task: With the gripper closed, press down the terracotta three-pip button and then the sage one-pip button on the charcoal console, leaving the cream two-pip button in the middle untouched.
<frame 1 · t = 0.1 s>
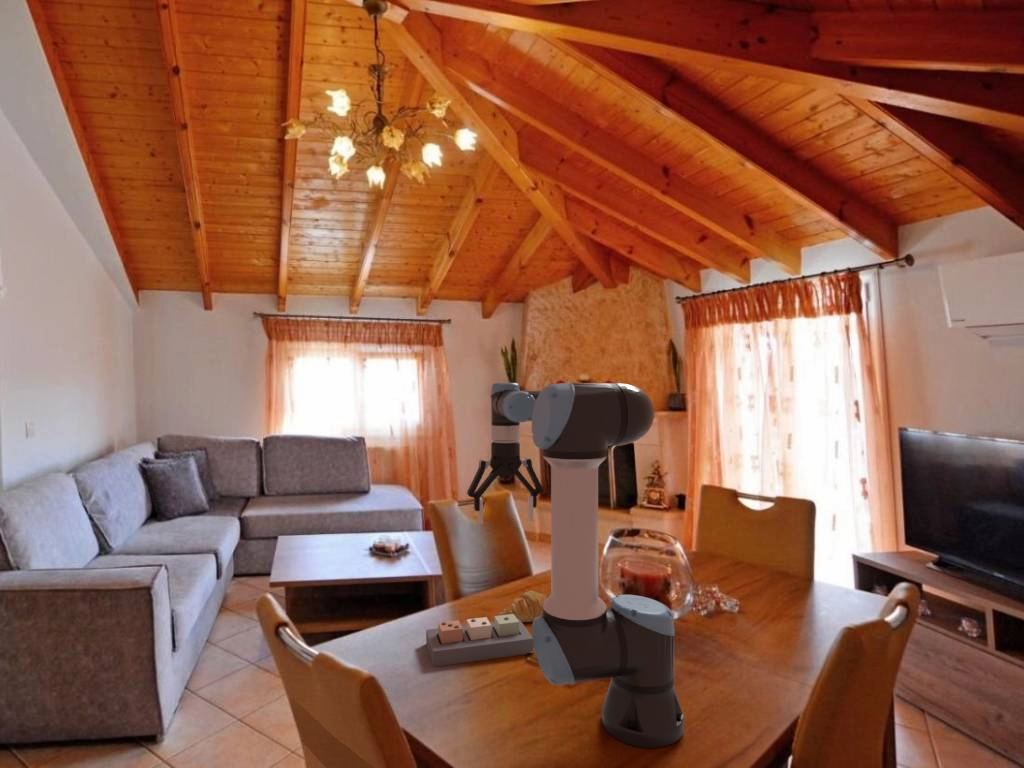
hand: (505, 521, 154), 28 cm above the table, fingers open, 13 cm apart
croissant: (529, 616, 162), on the table
button three: (450, 631, 140), point 5 cm above the table, slide at 0.0 cm
button two: (478, 627, 142), point 5 cm above the table, slide at 0.0 cm
button one: (506, 624, 144), point 5 cm above the table, slide at 0.0 cm
console: (478, 648, 142), on the table
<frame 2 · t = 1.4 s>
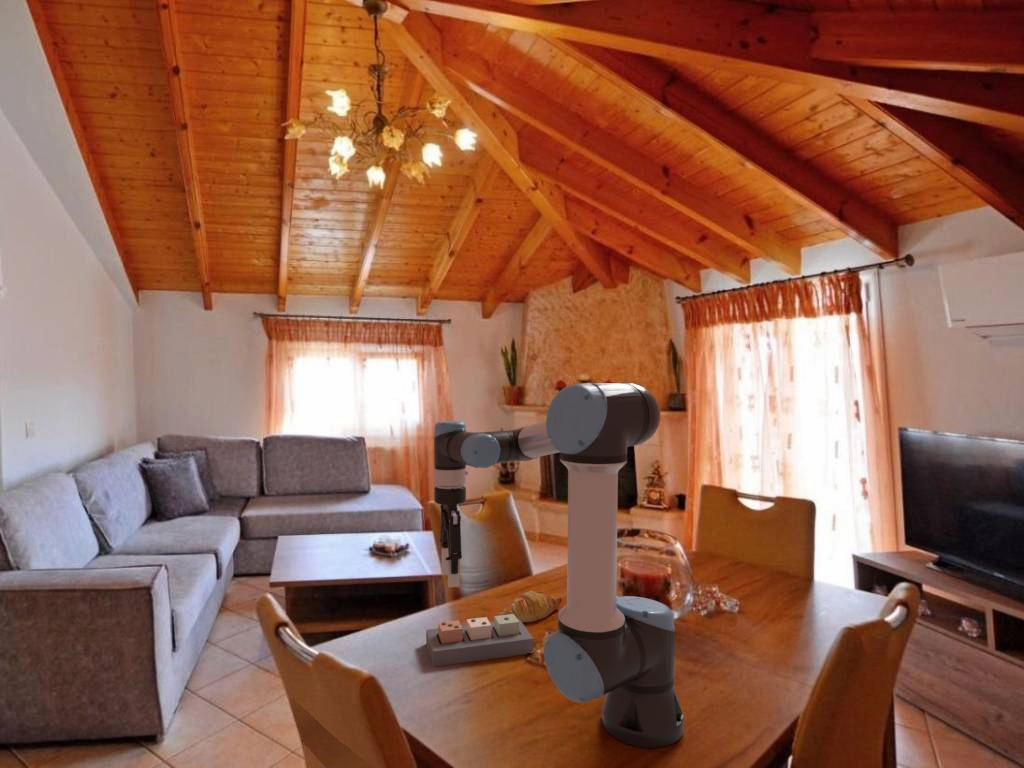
hand: (450, 580, 140), 17 cm above the table, fingers open, 8 cm apart
nothing on the table moved.
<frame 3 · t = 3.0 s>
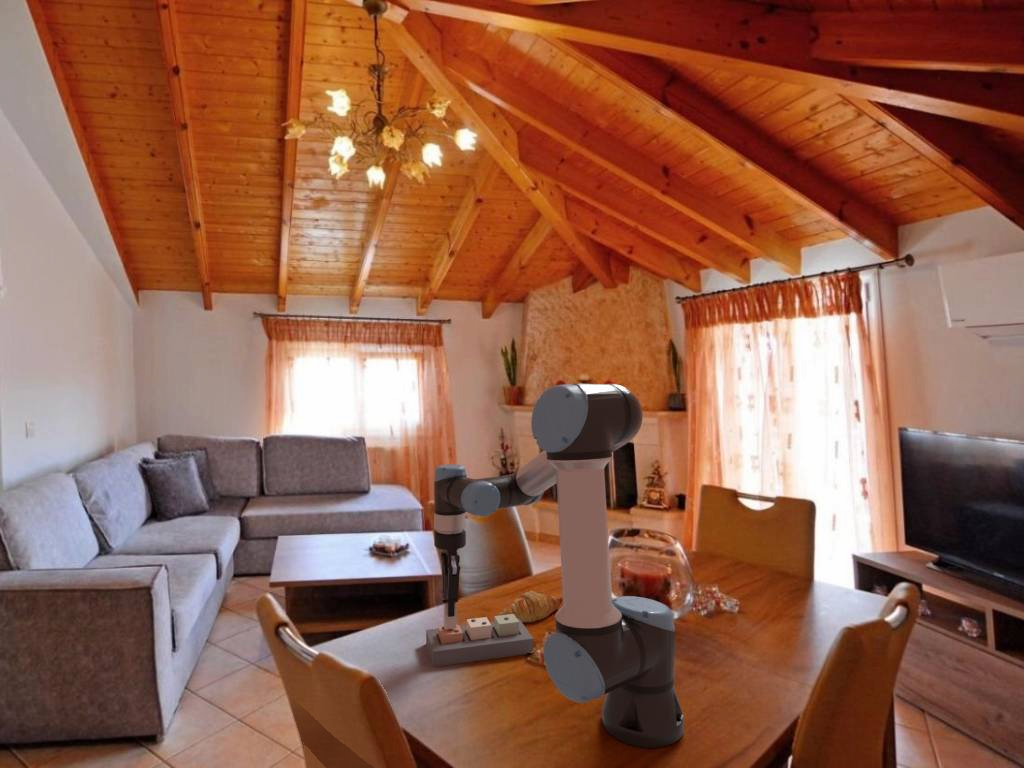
hand: (450, 627, 140), 6 cm above the table, fingers closed
button three: (450, 635, 140), point 4 cm above the table, slide at 1.0 cm, touching gripper
everything else where it was.
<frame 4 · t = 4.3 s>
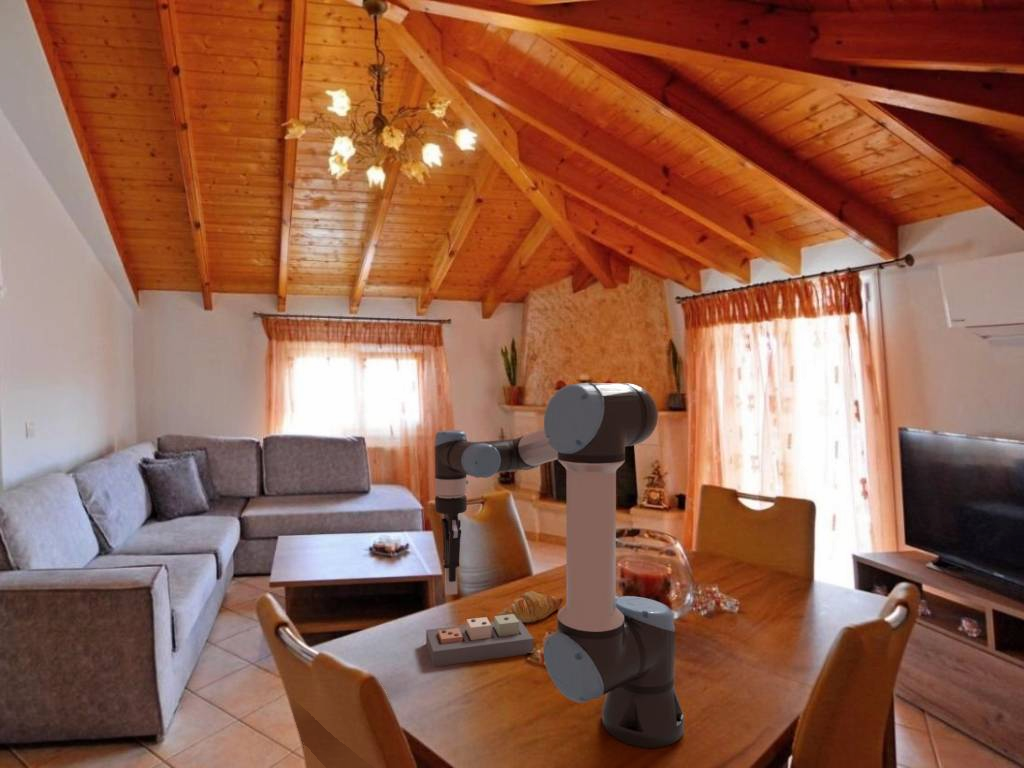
hand: (451, 593, 140), 14 cm above the table, fingers closed
button three: (450, 639, 140), point 3 cm above the table, slide at 1.9 cm
everything else where it was.
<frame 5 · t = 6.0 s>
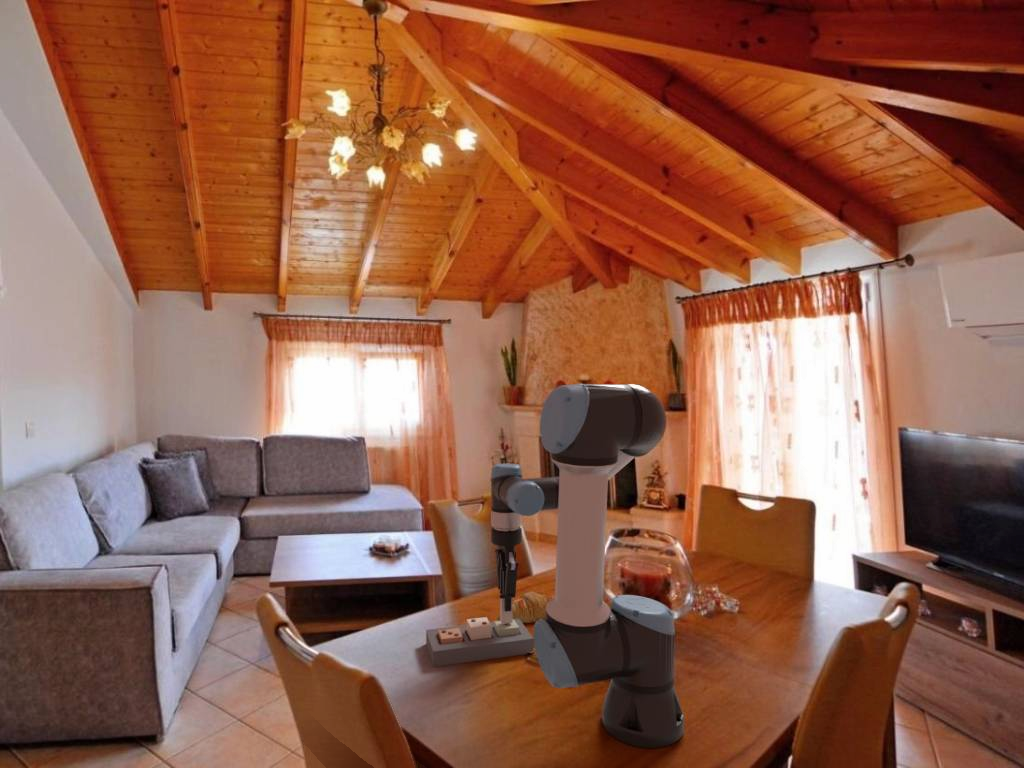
hand: (506, 622, 144), 6 cm above the table, fingers closed
button one: (506, 629, 144), point 4 cm above the table, slide at 1.3 cm, touching gripper
everything else where it was.
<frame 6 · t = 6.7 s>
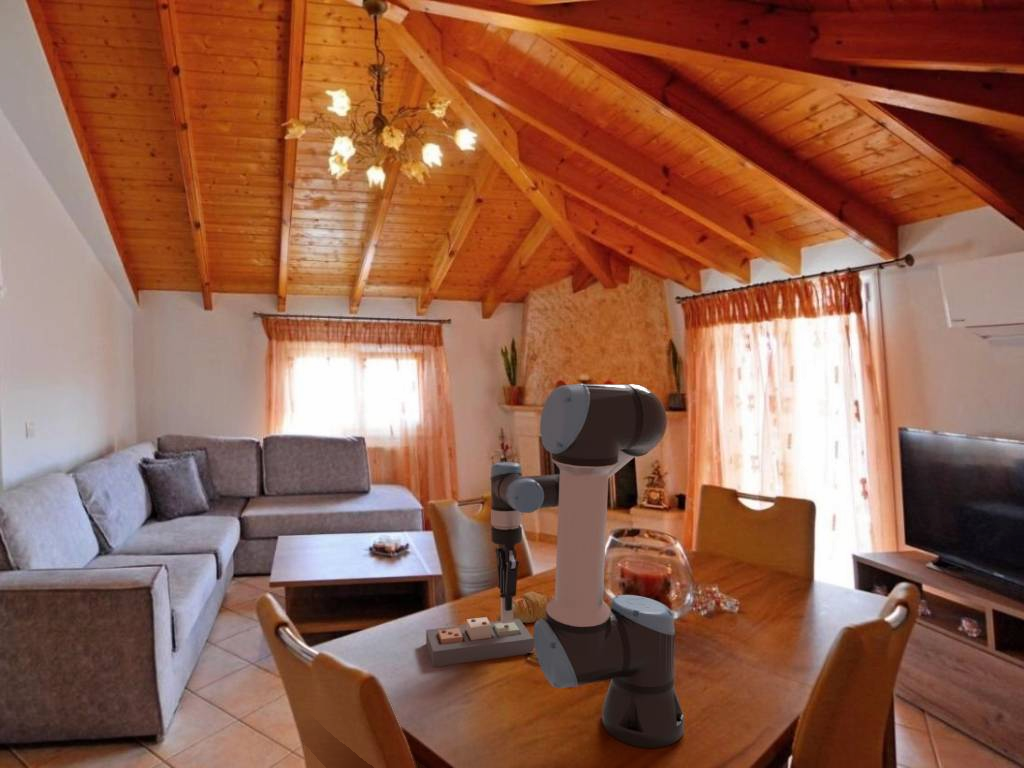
hand: (507, 621, 144), 6 cm above the table, fingers closed
button one: (506, 632, 144), point 3 cm above the table, slide at 1.9 cm
everything else where it was.
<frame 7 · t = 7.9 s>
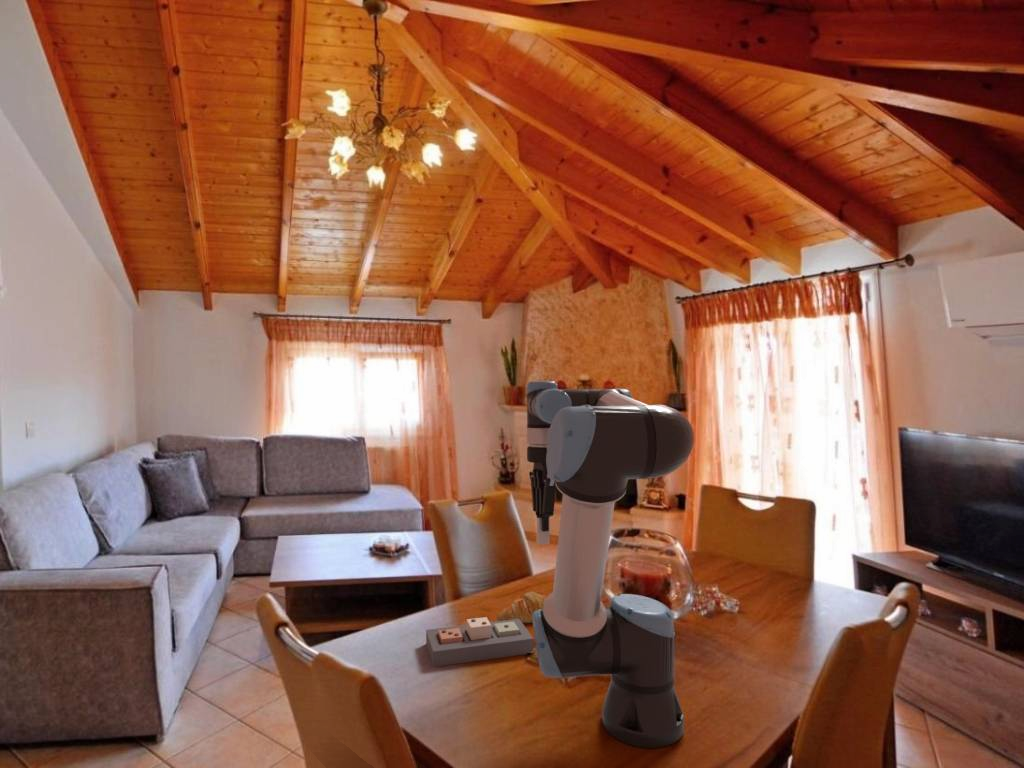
hand: (543, 543, 140), 26 cm above the table, fingers closed
nothing on the table moved.
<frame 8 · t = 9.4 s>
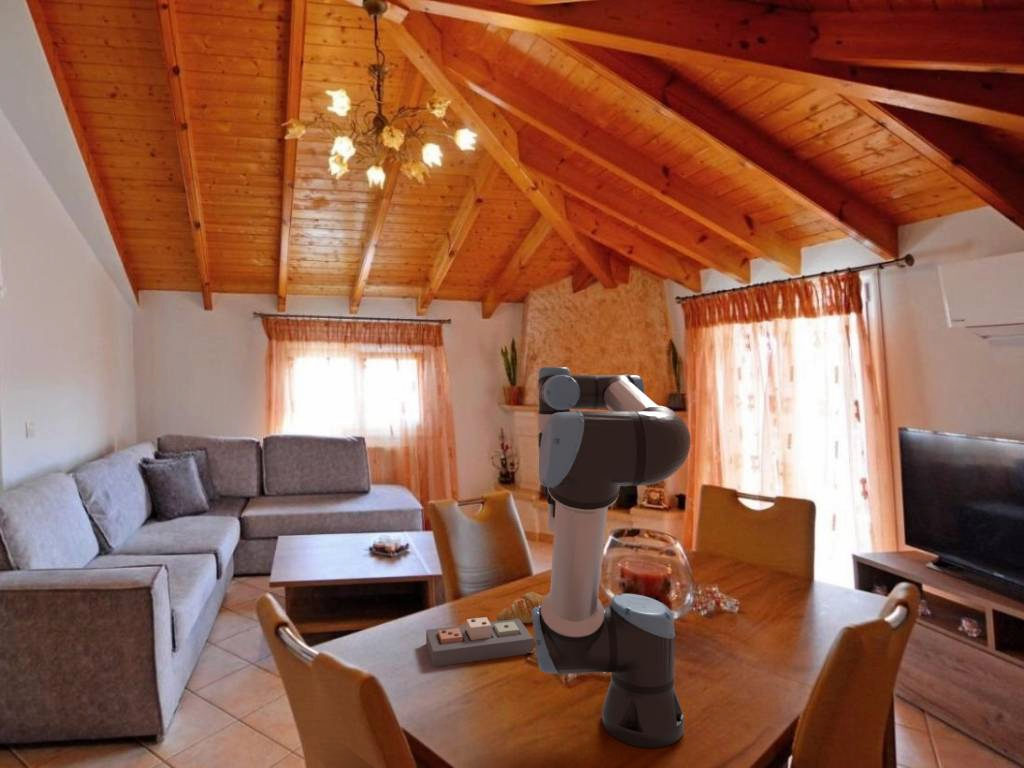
hand: (554, 529, 140), 29 cm above the table, fingers closed
nothing on the table moved.
at the end: button three slide at 1.9 cm; button one slide at 1.9 cm; button two slide at 0.0 cm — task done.
